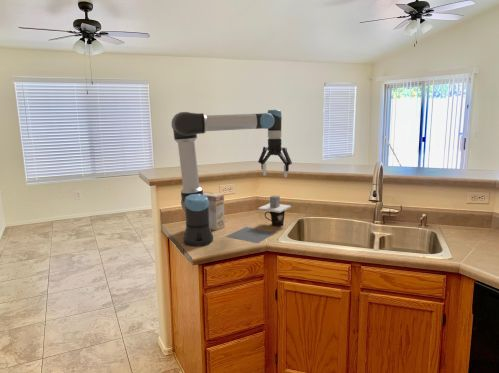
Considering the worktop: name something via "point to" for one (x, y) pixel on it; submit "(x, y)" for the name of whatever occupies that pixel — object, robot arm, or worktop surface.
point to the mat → (251, 234)
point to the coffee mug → (276, 218)
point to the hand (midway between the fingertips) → (274, 176)
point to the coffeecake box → (216, 210)
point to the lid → (274, 205)
